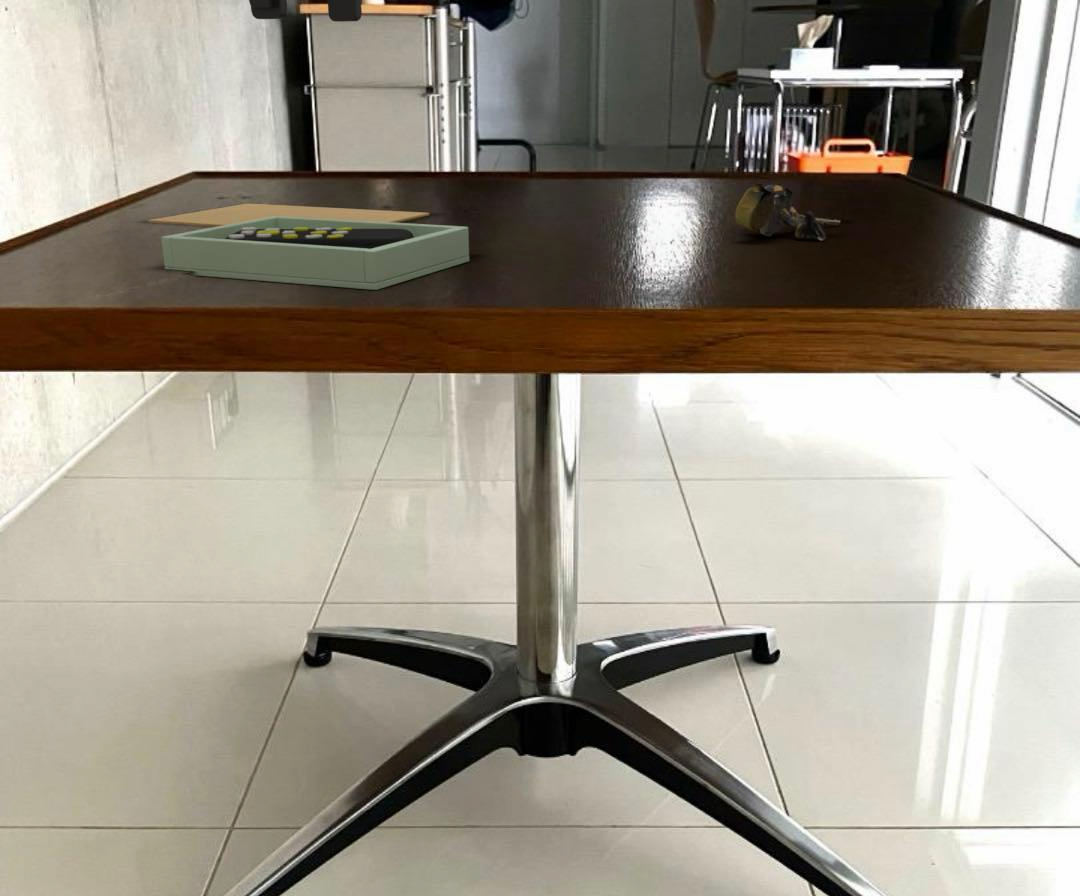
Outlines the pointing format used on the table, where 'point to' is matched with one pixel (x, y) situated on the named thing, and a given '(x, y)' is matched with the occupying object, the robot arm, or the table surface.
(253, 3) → the robot arm
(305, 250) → the tray
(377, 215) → the mat
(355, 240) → the remote control
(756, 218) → the regulator
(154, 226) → the table surface
